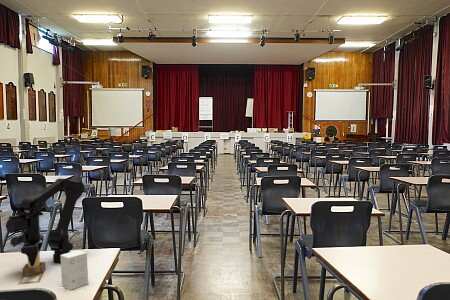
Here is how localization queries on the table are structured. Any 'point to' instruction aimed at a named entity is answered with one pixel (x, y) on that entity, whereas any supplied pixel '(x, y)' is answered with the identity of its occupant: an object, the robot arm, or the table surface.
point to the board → (30, 279)
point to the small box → (74, 269)
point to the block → (37, 262)
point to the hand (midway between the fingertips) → (34, 263)
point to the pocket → (34, 270)
